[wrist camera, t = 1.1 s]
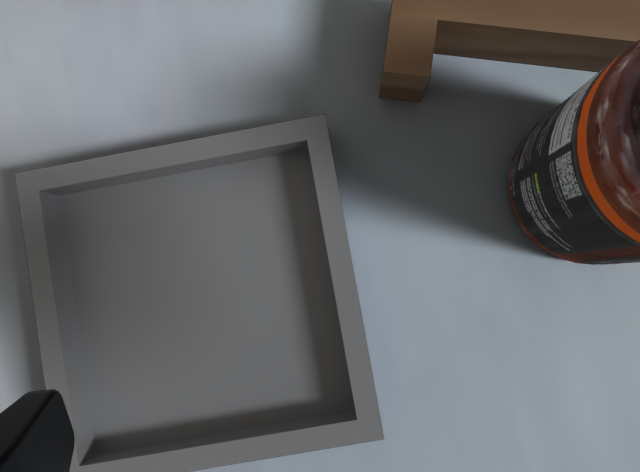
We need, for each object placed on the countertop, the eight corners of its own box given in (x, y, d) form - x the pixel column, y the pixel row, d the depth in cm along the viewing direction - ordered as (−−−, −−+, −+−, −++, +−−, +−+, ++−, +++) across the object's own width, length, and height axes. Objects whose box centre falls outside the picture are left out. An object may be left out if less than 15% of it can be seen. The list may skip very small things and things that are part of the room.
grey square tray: (381, 424, 22) (384, 439, 20) (85, 473, 23) (60, 492, 21) (327, 127, 23) (325, 113, 21) (43, 181, 24) (14, 173, 22)
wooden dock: (809, 148, 22) (881, 129, 19) (379, 97, 23) (383, 71, 20) (818, 55, 22) (891, 21, 19) (391, 8, 23) (396, -31, 20)
